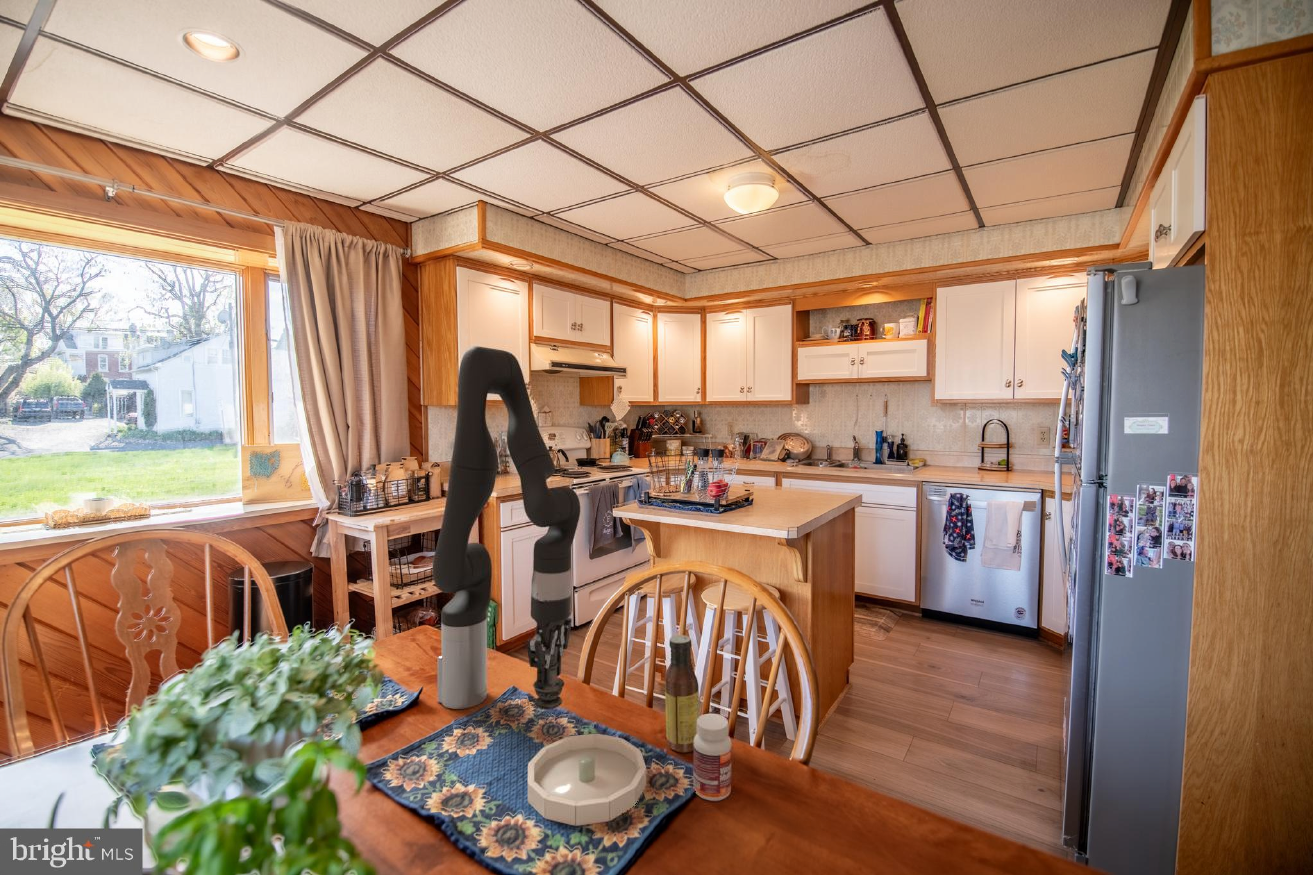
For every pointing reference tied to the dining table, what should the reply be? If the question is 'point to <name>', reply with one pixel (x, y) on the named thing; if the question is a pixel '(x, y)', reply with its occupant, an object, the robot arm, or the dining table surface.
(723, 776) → the pill bottle
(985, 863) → the dining table surface
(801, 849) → the dining table surface
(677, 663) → the sauce bottle
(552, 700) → the dark stone tower
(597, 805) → the tray
